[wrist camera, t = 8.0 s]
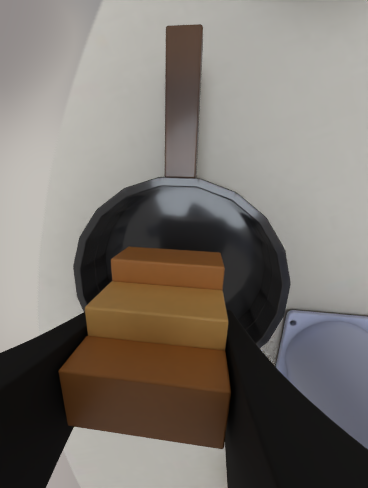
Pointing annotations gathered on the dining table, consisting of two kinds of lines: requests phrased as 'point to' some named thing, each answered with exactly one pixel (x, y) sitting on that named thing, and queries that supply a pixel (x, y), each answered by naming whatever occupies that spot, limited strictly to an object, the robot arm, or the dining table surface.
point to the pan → (192, 244)
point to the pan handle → (182, 99)
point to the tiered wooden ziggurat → (154, 350)
